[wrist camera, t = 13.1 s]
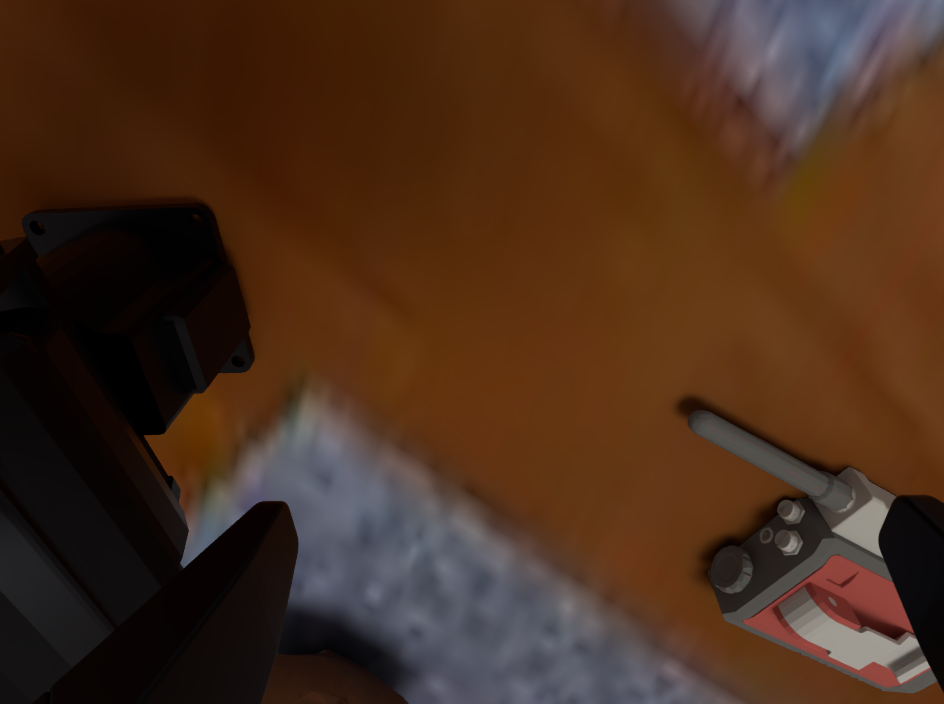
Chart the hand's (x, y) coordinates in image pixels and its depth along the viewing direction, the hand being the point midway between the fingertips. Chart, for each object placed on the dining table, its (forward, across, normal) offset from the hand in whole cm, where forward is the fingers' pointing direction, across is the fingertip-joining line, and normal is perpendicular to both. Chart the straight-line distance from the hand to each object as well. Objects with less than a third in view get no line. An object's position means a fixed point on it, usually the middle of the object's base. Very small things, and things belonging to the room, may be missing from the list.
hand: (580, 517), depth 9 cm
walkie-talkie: (+14, -12, +16) cm, 24 cm away
